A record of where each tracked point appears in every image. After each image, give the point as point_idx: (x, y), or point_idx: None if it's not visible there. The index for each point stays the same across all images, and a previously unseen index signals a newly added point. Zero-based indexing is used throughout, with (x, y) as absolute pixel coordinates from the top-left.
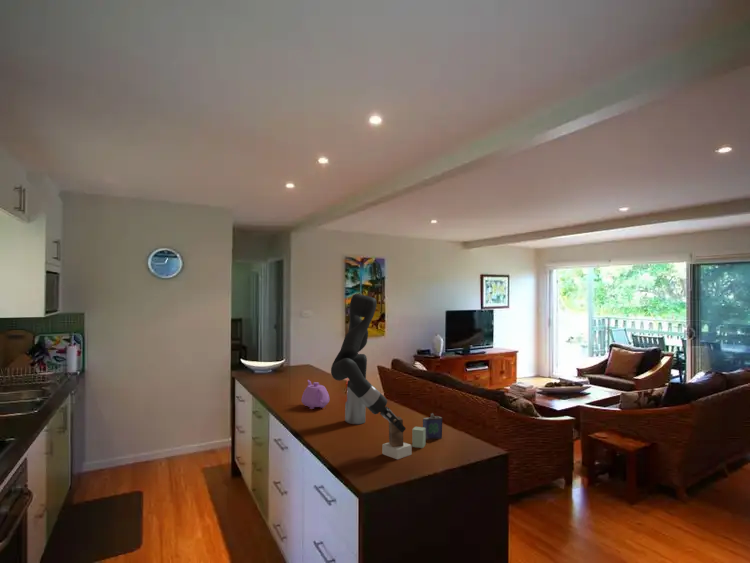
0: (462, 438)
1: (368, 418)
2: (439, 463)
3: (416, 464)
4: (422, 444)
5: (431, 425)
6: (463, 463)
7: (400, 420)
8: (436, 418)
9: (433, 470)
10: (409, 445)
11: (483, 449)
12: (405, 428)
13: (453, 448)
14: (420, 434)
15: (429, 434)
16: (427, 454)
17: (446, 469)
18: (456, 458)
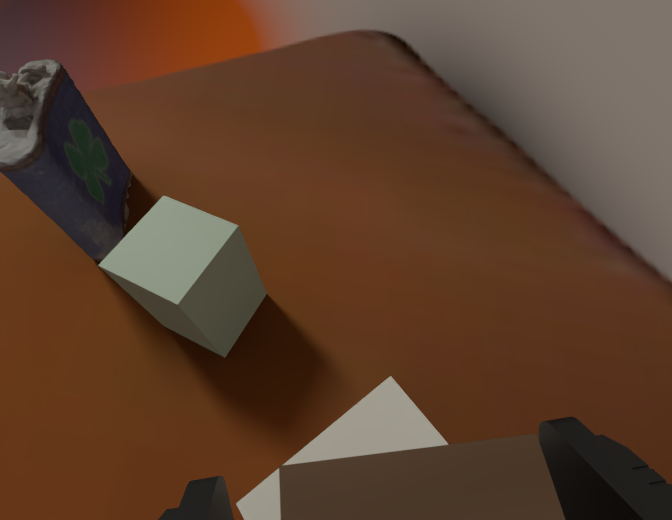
0: (166, 96)
1: None
2: (531, 256)
3: (582, 397)
4: (261, 285)
5: (73, 155)
6: (509, 157)
7: (547, 495)
8: (50, 87)
9: (659, 310)
10: (405, 397)
11: (325, 64)
12: (571, 420)
13: (297, 153)
14: (233, 261)
15: (107, 208)
16: (384, 289)
17: (617, 241)
18: (442, 169)
